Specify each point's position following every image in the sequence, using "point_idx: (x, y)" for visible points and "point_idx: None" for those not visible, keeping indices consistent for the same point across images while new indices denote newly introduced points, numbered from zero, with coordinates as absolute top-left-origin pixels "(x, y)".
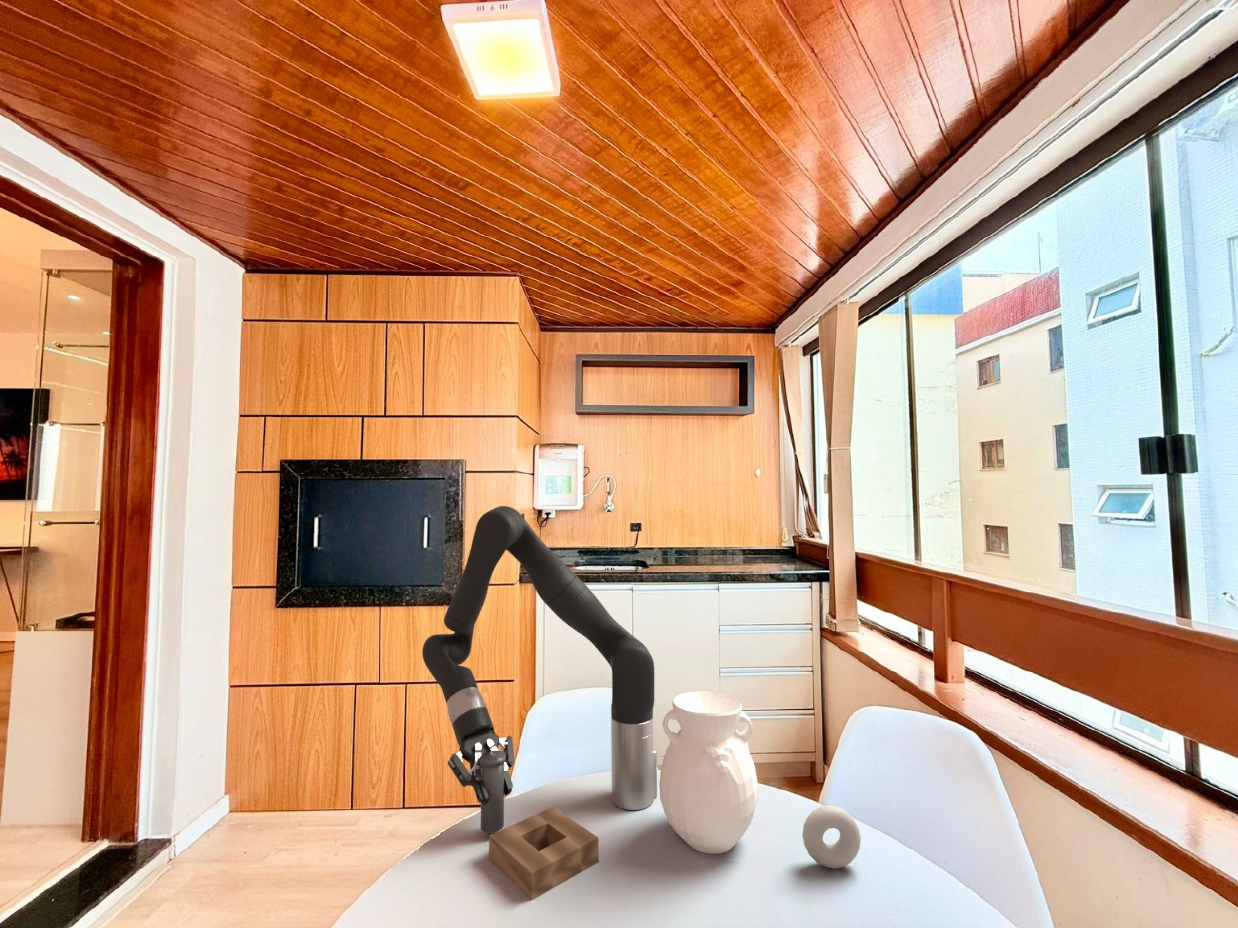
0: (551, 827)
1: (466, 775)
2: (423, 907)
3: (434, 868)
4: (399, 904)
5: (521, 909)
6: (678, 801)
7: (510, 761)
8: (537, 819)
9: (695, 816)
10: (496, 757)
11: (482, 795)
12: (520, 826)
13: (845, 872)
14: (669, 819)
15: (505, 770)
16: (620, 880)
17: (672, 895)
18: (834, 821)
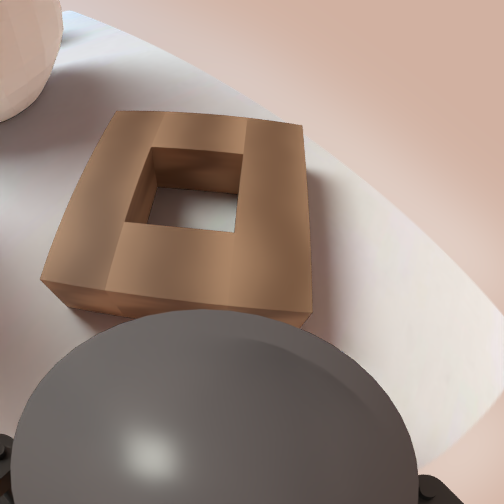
0: (130, 208)
1: (442, 501)
2: (456, 291)
3: (415, 400)
4: (484, 330)
5: (318, 162)
6: (50, 19)
7: (4, 461)
8: (126, 262)
9: (61, 23)
10: (203, 427)
11: None
12: (197, 273)
13: None
14: (34, 73)
15: None
16: (149, 107)
17: (140, 68)
18: None
